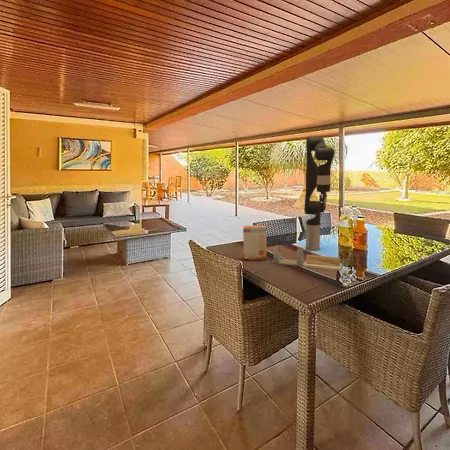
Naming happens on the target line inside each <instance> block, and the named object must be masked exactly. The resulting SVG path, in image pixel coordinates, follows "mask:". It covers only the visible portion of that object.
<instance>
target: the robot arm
mask: <svg viewBox="0 0 450 450" xmlns="http://www.w3.org/2000/svg"><path fill="white" fill-rule="evenodd" d="M305 149H306V150H305V152H306V166H305V194H304V195H305V196H304V209H303V210H304V214H305V215H314V217H312V218H308V219H307V220H306V221H305V224H306V225H305V227H306V228H305V250H308V251H319V250H320V245H321V244H320V243H321V214H324V213H325V211H326V207H327V206H326V204H327V200H328V199H327V198H328V193H330V192H331V183H332V182H331V180H332V179H331V170H332V163H333V160H334V157H335V149H334V148H333V147H328V146H327V145H326V142H325V139H324V137H322V136H320V135H319V136H318V135H317V136H308V137H306V142H305ZM312 152H314V157H313V153H312ZM314 158H315V159H314ZM315 160H316V161H320V162H321V161H326V163H323V164H320V165H318V164H317V162H315ZM315 190H316V192H317V193H320V194H319V195H318V196H319V200H311V197H312V194H313V193H314V191H315Z"/></svg>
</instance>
